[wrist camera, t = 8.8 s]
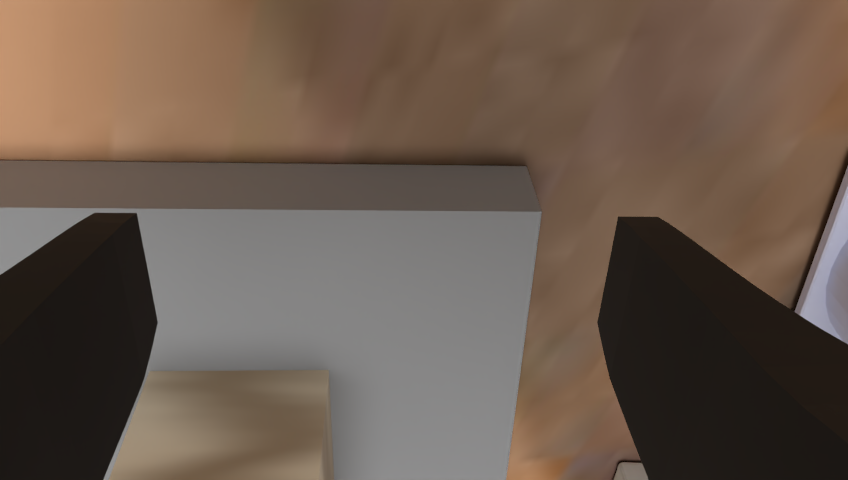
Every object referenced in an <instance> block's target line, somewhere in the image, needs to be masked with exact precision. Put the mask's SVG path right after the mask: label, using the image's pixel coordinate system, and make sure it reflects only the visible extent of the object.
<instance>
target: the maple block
mask: <svg viewBox="0 0 848 480" xmlns="http://www.w3.org/2000/svg"><path fill="white" fill-rule="evenodd" d="M109 480H334V467H333V446H332V426H331V405H330V385H329V370H244V371H149V374H148V377H147V379H146V382H145V385H144V387H143V390H142V393H141V395H140V398H139V401H138V403H137V406H136V409H135V411H134V414H133V417H132V419H131V422H130V425H129V427H128V430H127V432H126V435H125V438H124V440H123V443H122V446H121V448H120V451H119V454H118V456H117V459H116V462H115V464H114V467H113V470H112V472H111V475H110V478H109Z"/></svg>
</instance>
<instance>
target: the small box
mask: <svg viewBox="0 0 848 480" xmlns="http://www.w3.org/2000/svg"><path fill="white" fill-rule="evenodd" d="M614 480H648V477H647V474H646V472H645V469H644V467H643V464H642V463H634V462H621V463H620V464H619V465H618V468H617V471H616V474H615V477H614Z"/></svg>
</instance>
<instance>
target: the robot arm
mask: <svg viewBox="0 0 848 480" xmlns="http://www.w3.org/2000/svg"><path fill="white" fill-rule="evenodd" d="M157 324H158V321H157V315H156V310H155V305H154V300H153V295H152V289H151V284H150V279H149V274H148V269H147V263H146V258H145V253H144V248H143V243H142V237H141V232H140V227H139V222H138V217H137V213H93V214H92V215H90V216H88V217H86V218H84V219H83V220H81V221H80V222H78V223H76V224H75V225H73V226H72V227H70V228H69V229H67V230H66V231H64V232H63V233H61V234H60V235H58V236H57V237H55V238H54V239H52V240H51V241H49V242H48V243H47V244H45V245H44V246H42V247H41V248H39V249H38V250H36V251H35V252H33V253H32V254H30V255H29V256H28V257H26V258H25V259H23V260H22V261H20V262H19V263H17V264H16V265H14V266H13V267H11V268H10V269H8V270H7V271H5V272H4V273H2V274H1V275H0V480H103V479H104V477H105V474H106V472H107V470H108V467H109V465H110V462H111V460H112V457H113V455H114V453H115V450H116V448H117V445H118V443H119V440H120V438H121V436H122V433H123V431H124V428H125V426H126V423H127V421H128V418H129V416H130V413H131V411H132V409H133V406H134V404H135V401H136V399H137V396H138V394H139V391H140V388H141V386H142V383H143V381H144V377H145V374H146V370H147V366H148V362H149V358H150V355H151V350H152V346H153V342H154V337H155V333H156V329H157ZM598 327H599V332H600V337H601V341H602V346H603V351H604V355H605V360H606V364H607V368H608V372H609V376H610V380H611V382H612V385H613V388H614V391H615V393H616V396H617V399H618V401H619V404H620V407H621V409H622V412H623V415H624V417H625V420H626V423H627V425H628V428H629V430H630V433H631V436H632V438H633V441H634V443H635V446H636V448H637V451H638V454H639V456H640V459H641V461H642V464H643V467H644V469H645V472H646V474H647V477H648V480H848V167H847V169H846V172H845V175H844V178H843V180H842V183H841V186H840V189H839V191H838V194H837V197H836V200H835V202H834V205H833V208H832V210H831V213H830V216H829V219H828V221H827V224H826V227H825V230H824V232H823V235H822V238H821V241H820V243H819V246H818V249H817V251H816V254H815V257H814V260H813V262H812V265H811V268H810V271H809V273H808V276H807V279H806V282H805V284H804V287H803V290H802V292H801V295H800V298H799V301H798V303H797V306H796V309H795V312H794V311H792V310H790V309H789V308H787V307H786V306H784V305H783V304H781V303H779V302H778V301H777V300H775V299H774V298H772V297H771V296H769V295H768V294H766V293H765V292H763V291H762V290H760V289H759V288H757V287H756V286H755V285H753V284H752V283H750V282H749V281H747V280H746V279H745V278H743V277H742V276H740V275H739V274H738V273H736V272H735V271H733V270H732V269H731V268H729V267H728V266H727V265H725V264H724V263H722V262H721V261H720V260H718V259H717V258H716V257H714V256H713V255H712V254H710V253H709V252H708V251H706V250H705V249H703V248H702V247H701V246H699V245H698V244H697V243H695V242H694V241H693V240H691V239H690V238H689V237H687V236H686V235H684V234H683V233H682V232H680V231H679V230H677V229H676V228H674V227H673V226H672V225H670V224H669V223H667V222H665V221H664V220H662V219H660V218H659V217H618V221H617V226H616V231H615V236H614V241H613V246H612V252H611V257H610V262H609V267H608V272H607V277H606V282H605V287H604V292H603V297H602V303H601V308H600V313H599V318H598Z"/></svg>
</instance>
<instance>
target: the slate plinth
mask: <svg viewBox="0 0 848 480" xmlns="http://www.w3.org/2000/svg"><path fill="white" fill-rule="evenodd" d="M93 213H137V217H138V222H139V227H140V232H141V237H142V243H143V248H144V253H145V258H146V263H147V269H148V274H149V279H150V284H151V289H152V295H153V300H154V305H155V310H156V315H157V321H158V324H157V329H156V333H155V337H154V342H153V346H152V350H151V355H150V358H149V362H148V366H147V370H146V374H145V377H144V381H143V383H142V386H141V388H140V391H139V394H138V396H137V399H136V401H135V404H134V406H133V409H132V411H131V413H130V416H129V418H128V421H127V423H126V426H125V428H124V431H123V433H122V436H121V438H120V440H119V443H118V445H117V448H116V450H115V453H114V455H113V457H112V460H111V462H110V465H109V467H108V470H107V472H106V474H105V477H104V479H103V480H109V478H110V475H111V472H112V470H113V467H114V464H115V462H116V459H117V456H118V454H119V451H120V448H121V446H122V443H123V440H124V438H125V435H126V432H127V430H128V427H129V425H130V422H131V419H132V417H133V414H134V411H135V409H136V406H137V403H138V401H139V398H140V395H141V393H142V390H143V387H144V385H145V382H146V379H147V377H148V374H149V371H244V370H329V385H330V405H331V426H332V446H333V467H334V480H506V476H507V468H508V461H509V453H510V446H511V439H512V431H513V424H514V416H515V409H516V401H517V394H518V386H519V379H520V371H521V364H522V356H523V349H524V341H525V334H526V326H527V319H528V311H529V304H530V296H531V289H532V281H533V274H534V266H535V259H536V251H537V244H538V236H539V229H540V221H541V214H542V211H541V208H540V205H539V202H538V199H537V196H536V193H535V190H534V187H533V184H532V181H531V178H530V175H529V172H528V169H527V166H476V165H385V164H294V163H203V162H112V161H21V160H0V275H1V274H2V273H4V272H5V271H7V270H8V269H10V268H11V267H13V266H14V265H16V264H17V263H19V262H20V261H22V260H23V259H25V258H26V257H28V256H29V255H30V254H32V253H33V252H35V251H36V250H38V249H39V248H41V247H42V246H44V245H45V244H47V243H48V242H49V241H51V240H52V239H54V238H55V237H57V236H58V235H60V234H61V233H63V232H64V231H66V230H67V229H69V228H70V227H72V226H73V225H75V224H76V223H78V222H80V221H81V220H83V219H84V218H86V217H88V216H90V215H92V214H93Z"/></svg>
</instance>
